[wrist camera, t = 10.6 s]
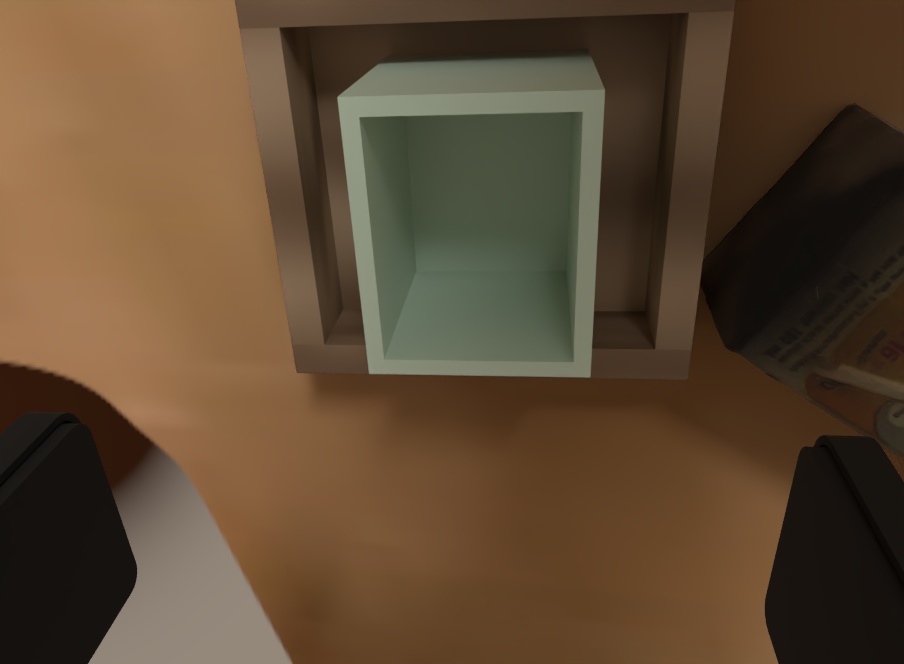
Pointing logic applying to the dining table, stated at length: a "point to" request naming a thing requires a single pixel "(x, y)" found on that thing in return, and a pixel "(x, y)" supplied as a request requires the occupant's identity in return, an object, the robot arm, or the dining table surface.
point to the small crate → (476, 211)
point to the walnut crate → (622, 166)
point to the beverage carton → (825, 278)
